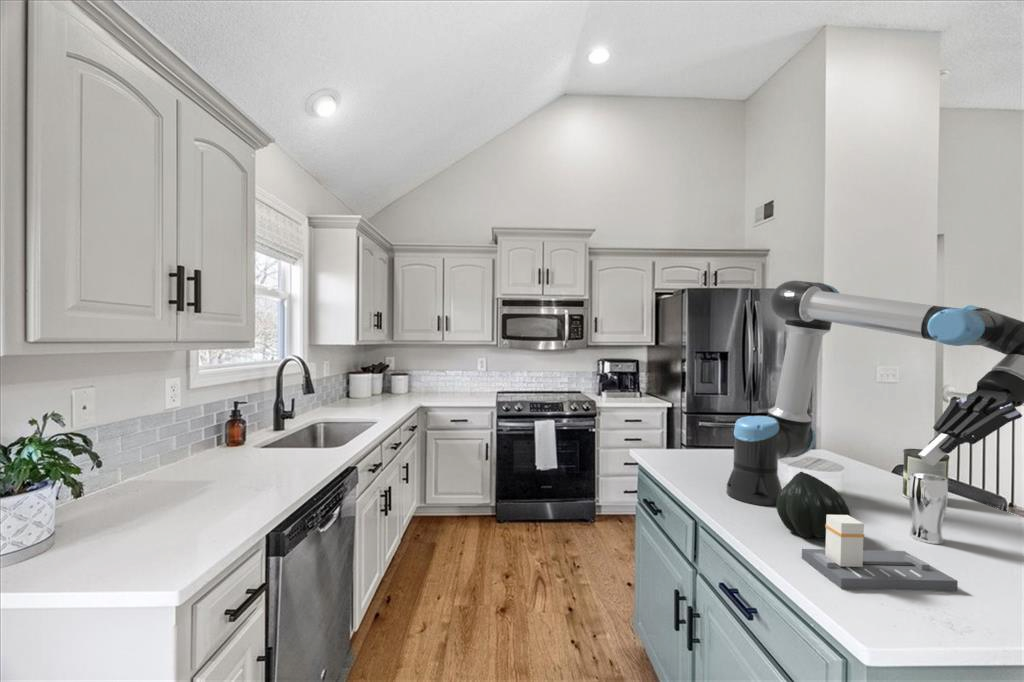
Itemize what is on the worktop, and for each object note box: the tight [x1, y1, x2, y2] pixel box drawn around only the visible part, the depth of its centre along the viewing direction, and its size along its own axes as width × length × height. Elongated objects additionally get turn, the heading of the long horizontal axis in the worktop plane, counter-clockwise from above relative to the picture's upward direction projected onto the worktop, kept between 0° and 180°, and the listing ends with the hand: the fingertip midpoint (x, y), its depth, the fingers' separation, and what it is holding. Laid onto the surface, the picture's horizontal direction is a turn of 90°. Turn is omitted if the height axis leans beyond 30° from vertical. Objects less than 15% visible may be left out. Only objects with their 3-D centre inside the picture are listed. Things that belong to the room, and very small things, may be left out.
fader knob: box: [824, 515, 865, 567], centre depth 93 cm, size 5×5×9 cm
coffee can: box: [901, 448, 951, 505], centre depth 138 cm, size 10×10×14 cm
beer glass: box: [908, 473, 949, 545], centre depth 111 cm, size 7×7×15 cm
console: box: [801, 548, 959, 592], centre depth 94 cm, size 22×12×3 cm, turn 90°
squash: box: [776, 471, 851, 539], centre depth 113 cm, size 14×15×15 cm
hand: (925, 460), depth 95 cm, fingers closed
